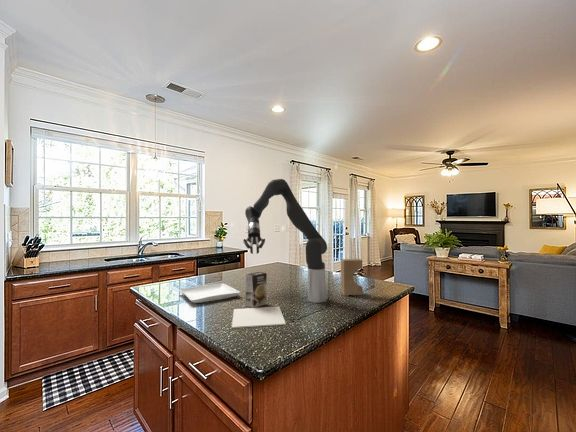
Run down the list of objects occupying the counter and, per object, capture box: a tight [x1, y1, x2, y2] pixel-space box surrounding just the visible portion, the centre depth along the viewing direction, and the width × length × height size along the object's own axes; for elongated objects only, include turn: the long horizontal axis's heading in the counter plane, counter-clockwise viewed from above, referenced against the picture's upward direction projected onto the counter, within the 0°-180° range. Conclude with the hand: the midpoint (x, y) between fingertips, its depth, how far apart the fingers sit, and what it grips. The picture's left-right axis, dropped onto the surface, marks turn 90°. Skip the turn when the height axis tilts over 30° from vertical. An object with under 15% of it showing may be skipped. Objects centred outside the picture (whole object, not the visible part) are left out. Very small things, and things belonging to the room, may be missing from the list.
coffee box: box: [245, 271, 268, 308], centre depth 141 cm, size 9×6×16 cm
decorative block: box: [340, 258, 364, 297], centre depth 159 cm, size 11×6×20 cm, turn 99°
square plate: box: [178, 283, 241, 304], centre depth 157 cm, size 27×27×4 cm
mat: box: [231, 306, 287, 329], centre depth 124 cm, size 22×22×1 cm
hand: (254, 253), depth 160 cm, fingers open, 2 cm apart
